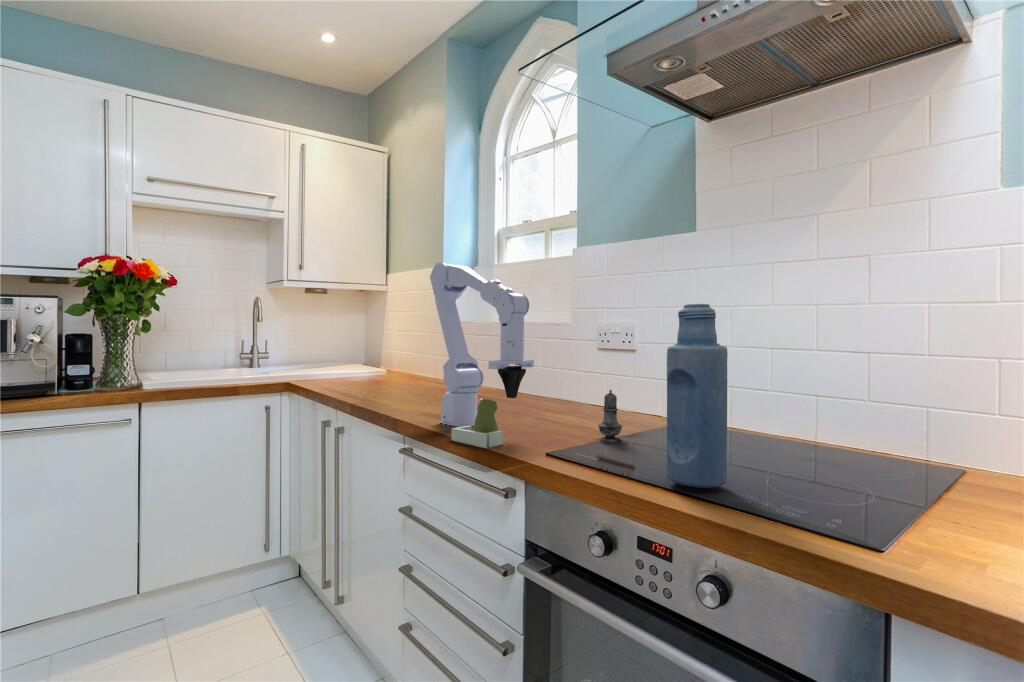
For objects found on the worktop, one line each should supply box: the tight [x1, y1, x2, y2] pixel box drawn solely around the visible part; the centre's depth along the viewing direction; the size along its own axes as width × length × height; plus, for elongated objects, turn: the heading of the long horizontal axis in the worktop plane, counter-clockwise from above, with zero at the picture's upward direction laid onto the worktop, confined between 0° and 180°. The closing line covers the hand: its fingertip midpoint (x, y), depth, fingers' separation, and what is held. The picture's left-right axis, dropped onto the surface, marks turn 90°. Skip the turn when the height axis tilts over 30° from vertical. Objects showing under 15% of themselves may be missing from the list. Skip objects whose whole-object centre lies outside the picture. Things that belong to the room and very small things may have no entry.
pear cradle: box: [451, 426, 504, 449], centre depth 122 cm, size 11×6×3 cm, turn 49°
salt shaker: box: [597, 389, 623, 443], centre depth 127 cm, size 6×6×12 cm
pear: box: [473, 398, 499, 433], centre depth 124 cm, size 6×5×10 cm
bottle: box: [666, 303, 729, 489], centre depth 91 cm, size 10×10×30 cm
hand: (511, 397), depth 131 cm, fingers closed
